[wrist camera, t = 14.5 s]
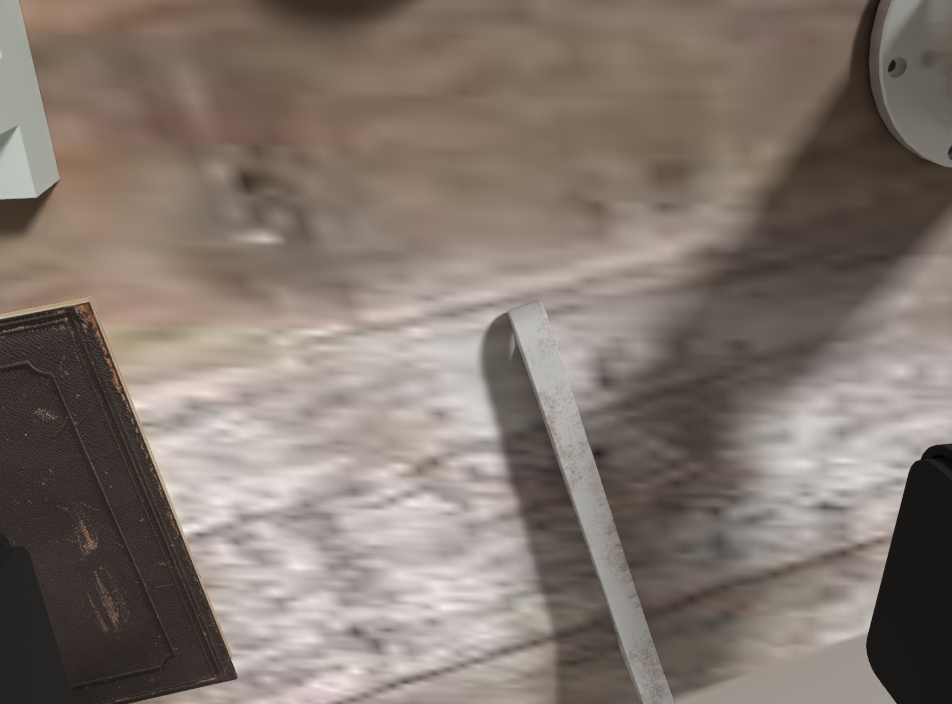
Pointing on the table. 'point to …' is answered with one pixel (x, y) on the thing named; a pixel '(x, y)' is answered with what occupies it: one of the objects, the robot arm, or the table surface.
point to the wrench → (588, 499)
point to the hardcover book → (98, 516)
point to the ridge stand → (21, 114)
